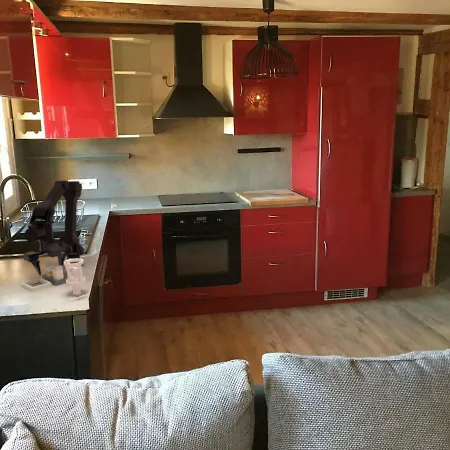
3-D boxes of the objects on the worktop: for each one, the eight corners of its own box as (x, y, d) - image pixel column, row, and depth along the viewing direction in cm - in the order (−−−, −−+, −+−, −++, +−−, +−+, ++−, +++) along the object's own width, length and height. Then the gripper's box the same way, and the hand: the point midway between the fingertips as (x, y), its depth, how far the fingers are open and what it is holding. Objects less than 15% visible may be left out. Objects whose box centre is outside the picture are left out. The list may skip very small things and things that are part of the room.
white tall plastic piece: (64, 297, 191) (59, 259, 188) (78, 291, 197) (74, 254, 193) (76, 300, 187) (72, 261, 184) (90, 294, 193) (86, 256, 189)
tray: (21, 288, 202) (21, 282, 202) (40, 283, 208) (40, 277, 207) (32, 294, 195) (31, 288, 195) (52, 288, 201) (51, 282, 200)
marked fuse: (46, 279, 209) (44, 263, 208) (52, 277, 211) (50, 261, 210) (50, 281, 207) (48, 265, 205) (56, 279, 209) (54, 263, 207)
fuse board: (43, 281, 210) (42, 274, 209) (54, 278, 213) (53, 271, 212) (56, 288, 201) (55, 281, 200) (68, 284, 205) (67, 277, 204)
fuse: (53, 282, 205) (51, 266, 203) (60, 280, 207) (58, 264, 205) (57, 284, 202) (55, 268, 201) (64, 282, 204) (62, 266, 203)
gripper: (32, 244, 193) (37, 282, 196) (76, 234, 206) (80, 270, 209) (20, 239, 201) (25, 276, 204) (63, 230, 213) (67, 265, 217)
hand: (50, 272), depth 208 cm, fingers open, 9 cm apart
